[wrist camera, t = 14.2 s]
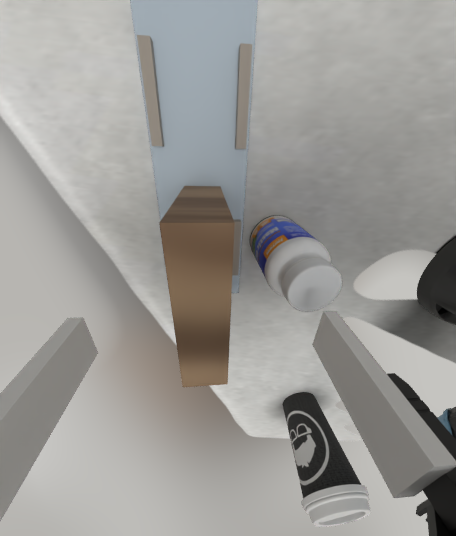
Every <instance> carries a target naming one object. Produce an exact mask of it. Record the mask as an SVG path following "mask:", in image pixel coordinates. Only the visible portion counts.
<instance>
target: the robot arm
mask: <svg viewBox="0 0 456 536" xmlns="http://www.w3.org/2000/svg"><path fill="white" fill-rule="evenodd" d="M417 298H418V301H419V303H420V304H421V306H422V307H424V308H425V309H426V310H428V311H429V312H431V313H432V314H433V315H435V316H436V317H438V318H440V319H441V320H444V321H446V322H449V323H451V324H454V325H456V237H455V238H454V239H453V240H451V241H450V242H449V243H448V244H447V245H446V246H444V247H443V248H442V249H441V250H440V251H439V252H438V253H437V254H436V255H435V257H434V258H433V259H432V260H431V262H430V263H429V264H428V266H427V267H426V269H425V270H424V272H423V274H422V276H421V278H420V280H419V283H418V287H417ZM313 347H314V348H315V350H316V352H317V354H318V356H319V358H320V360H321V362H322V364H323V365H324V367H325V369H326V371H327V373H328V375H329V377H330V379H331V381H332V382H333V384H334V386H335V388H336V390H337V392H338V394H339V396H340V397H341V399H342V401H343V403H344V405H345V407H346V409H347V411H348V413H349V414H350V416H351V418H352V420H353V422H354V424H355V426H356V427H357V430H358V431H359V433H360V435H361V437H362V439H363V441H364V443H365V445H366V447H367V448H368V450H369V452H370V454H371V456H372V458H373V460H374V462H375V464H376V465H377V467H378V469H379V471H380V473H381V475H382V476H383V479H384V481H385V482H386V484H387V486H388V488H389V490H390V492H391V494H392V495H393V497H394V498H400V497H410V496H415V495H416V494H418V493H419V492H421V491H422V490H423V491H424V493H425V494H426V496H427V498H428V500H426V501H424V502H423V503H421V504H420V505H419V506H417V510H416V514H418V515H419V516H422V515H423V514H425V513H427V519H426V521H427V522H428V529H429V536H456V407H454V408H452V409H451V408H450V409H446V410H445V411H444V412H443V415H441V416H439V417H438V418H437V417H436V416H435V415H434V414H433V412H430V409H429V408H428V407H427V405H426V404H425V403H424V402H423V401H421V400H420V398H419V396H418V395H417V394H416V393H415V391H414V390H413V389H412V388H411V387H410V386H409V384H407V383H406V382H405V381H403V380H402V379H401V378H399V377H398V376H397V375H396V374H395V373H394V374H386V373H385V371H384V370H383V369H382V368H381V366H380V365H379V364H378V363H377V362H376V360H375V359H374V358H373V356H372V355H371V354H370V353H369V351H368V350H367V349H366V348H365V346H364V345H363V344H362V343H361V341H360V340H359V339H358V338H357V336H356V335H355V334H354V333H353V331H352V330H351V329H350V328H349V326H348V325H347V324H346V323H345V321H344V320H343V319H342V318H341V316H340V315H339V314H338V313H337V311H323V315H322V318H321V321H320V324H319V327H318V330H317V333H316V336H315V339H314V342H313ZM97 354H98V351H97V349H96V347H95V345H94V342H93V340H92V337H91V335H90V332H89V330H88V328H87V326H86V323H85V321H84V318H67V319H66V321H65V322H64V323H63V324H62V325H61V326H60V327H59V328H58V330H57V331H56V332H55V333H54V334H53V335H52V336H51V337H50V339H49V340H48V341H47V342H46V343H45V344H44V346H42V348H41V349H40V350H39V351H38V352H37V353H36V354H35V356H34V357H33V358H32V359H31V360H30V361H29V362H28V363H27V364H26V366H25V367H24V368H23V369H22V370H21V371H20V372H19V373H18V374H17V376H16V377H15V378H14V379H13V380H12V381H11V382H10V383H9V385H8V386H7V387H6V388H5V389H4V390H3V392H1V394H0V521H1V519H2V517H3V516H4V514H5V512H6V511H7V509H8V507H9V505H10V504H11V502H12V500H13V498H14V497H15V495H16V493H17V492H18V490H19V488H20V486H21V485H22V483H23V481H24V480H25V478H26V476H27V474H28V473H29V471H30V469H31V467H32V466H33V464H34V462H35V461H36V459H37V457H38V455H39V454H40V452H41V450H42V448H43V447H44V445H45V443H46V442H47V440H48V438H49V437H50V435H51V433H52V431H53V430H54V428H55V426H56V424H57V423H58V421H59V419H60V418H61V416H62V414H63V412H64V411H65V409H66V407H67V405H68V404H69V402H70V400H71V399H72V397H73V395H74V393H75V392H76V390H77V388H78V387H79V385H80V383H81V381H82V379H83V378H84V376H85V374H86V373H87V371H88V369H89V367H90V366H91V364H92V362H93V361H94V359H95V357H96V355H97Z"/></svg>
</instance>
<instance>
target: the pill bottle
mask: <svg viewBox="0 0 456 536" xmlns="http://www.w3.org/2000/svg"><path fill="white" fill-rule="evenodd" d="M250 245H251V249H252V252H253V254H254V256H255V258H256V260H257V262H258V264H259V266H260V268H261V270H262V272H263V274H264V276H265V278H266V280H267V282H268V284H269V286H270V287H271V288H272V289H273V290H274V291H275V292H276V293H278V294H279V295H282V296H284V297H285V298H286V299H287V301H288V302H289V304H290V305H291V306H292V307H293V308H295V309H297V310H299V311H304V312H310V311H315V310H319V309H321V308H323V307H325V306H327V305H328V304H330V303H331V302H332V301H333V300H334V299H335V298H336V297H337V295H338V294H339V292H340V290H341V287H342V277H341V274H340V273H339V271H338V270H337V269H336V268H335V267H334V266H333V265H332V264H331V257H330V254H329V252H328V250H327V249H326V248H325V246H324V245H323V244H321V243H320V242H319V241H318V240H317V239H315V238H314V237H313V236H311V235H310V234H309V233H307V232H306V231H305V230H304V229H302V228H301V227H300V226H298V225H297V224H296V223H294V222H293V221H292V220H290V219H288V218H286V217H283V216H272V217H268V218H266V219H264V220H263V221H261V222H260V223H259V224H258V225H257V226H256V227H255V229H254V230H253V232H252V235H251V239H250Z"/></svg>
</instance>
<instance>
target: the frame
mask: <svg viewBox="0 0 456 536" xmlns="http://www.w3.org/2000/svg"><path fill="white" fill-rule="evenodd" d="M234 225H235V223H234V220H233V217H232V215H231V212H230V210H229V207H228V205H227V202H226V200H225V197H224V194H223V192H222V189H221V187H220V186H184V187H183V189H182V190H181V192H180V193H179V195H178V196H177V198H176V199H175V201H174V202H173V203H172V205H171V206H170V208H169V209H168V211H167V212H166V214H165V215H164V217H163V218H162V220H161V221H160V230H161V237H162V244H163V251H164V258H165V265H166V273H167V280H168V287H169V294H170V301H171V308H172V315H173V322H174V329H175V336H176V343H177V350H178V357H179V364H180V371H181V378H182V385H183V387H193V386H207V385H221V384H227V382H228V360H229V337H230V315H231V292H232V270H233V248H234Z"/></svg>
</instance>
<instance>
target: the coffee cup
mask: <svg viewBox="0 0 456 536" xmlns="http://www.w3.org/2000/svg"><path fill="white" fill-rule="evenodd" d="M283 408H284V412H285V417H286V421H287V426H288V430H289V435H290V439H291V443H292V448H293V452H294V457H295V462H296V466H297V470H298V476H299V480H300V485H301V489H302V494H303V500H302V501H301V503H302V506H303V508H304V510H305V511H306V513H307V514H308V515H309V516H310V518H311V520H312V523H313V524H314V526H318V527H327V526H335V525H341V524H346V523H349V522H353V521H356V520H359V519H362V518H364V517H366V516H368V515H369V514H370V513H371V511H370V507H369V503H368V501H369V497H368V491H367V488H366V487H365V486H363V485H361V483H360V481H359V479H358V478H357V476H356V474H355V472H354V470H353V468H352V466H351V465H350V463H349V461H348V459H347V457H346V455H345V453H344V451H343V450H342V448H341V446H340V444H339V442H338V440H337V438H336V436H335V434H334V433H333V431H332V429H331V427H330V425H329V423H328V421H327V419H326V417H325V416H324V414H323V412H322V410H321V408H320V406H319V404H318V402H317V400H316V399H315V397H314V395H313V394H311V393H305V392H303V393H297V394H294V395H291V396H289V397H288V398H287V399H285V401H284V402H283Z"/></svg>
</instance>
